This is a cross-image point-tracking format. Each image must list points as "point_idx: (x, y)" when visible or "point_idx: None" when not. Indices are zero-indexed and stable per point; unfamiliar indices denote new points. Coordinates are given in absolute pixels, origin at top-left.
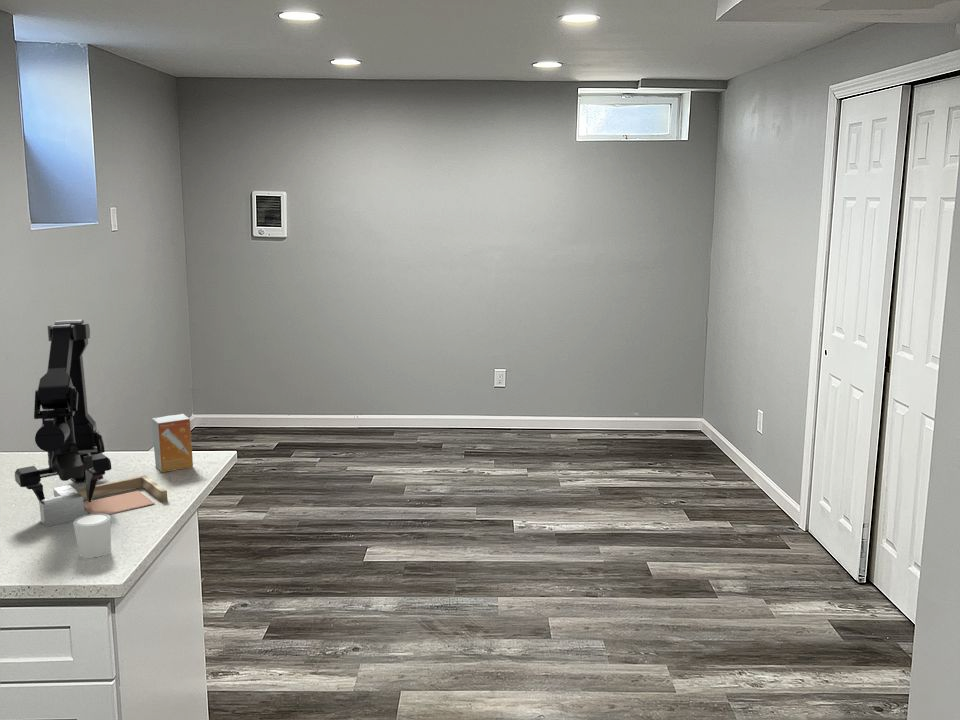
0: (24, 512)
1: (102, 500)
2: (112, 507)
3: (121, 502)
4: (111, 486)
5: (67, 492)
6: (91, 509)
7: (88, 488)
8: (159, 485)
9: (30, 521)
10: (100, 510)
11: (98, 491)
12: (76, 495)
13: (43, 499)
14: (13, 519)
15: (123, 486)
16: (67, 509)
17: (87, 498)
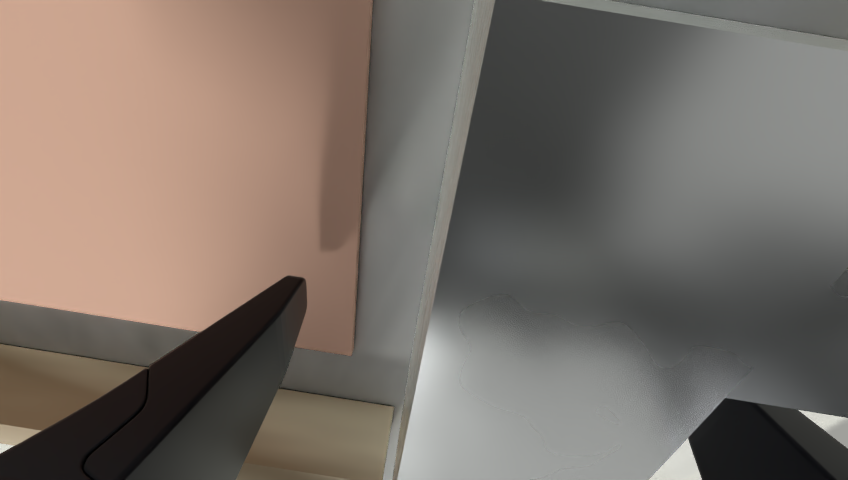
0: None
1: (195, 296)
2: (117, 53)
3: (26, 132)
4: None
5: (543, 442)
6: (326, 171)
7: (228, 409)
8: None
9: None
10: (254, 63)
11: None
12: (550, 219)
13: (838, 470)
14: (808, 415)
15: (12, 380)
16: (782, 32)
17: (298, 329)
